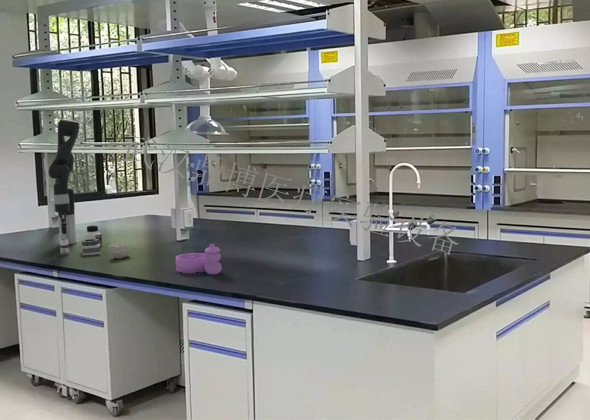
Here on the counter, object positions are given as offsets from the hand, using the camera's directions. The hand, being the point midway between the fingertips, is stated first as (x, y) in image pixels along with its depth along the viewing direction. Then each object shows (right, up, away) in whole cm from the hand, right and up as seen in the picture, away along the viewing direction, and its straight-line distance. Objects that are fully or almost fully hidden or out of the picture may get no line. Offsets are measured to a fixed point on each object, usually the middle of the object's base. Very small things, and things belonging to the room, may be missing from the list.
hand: (64, 232), depth 344 cm
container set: (+80, -16, -51) cm, 96 cm away
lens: (0, -12, +1) cm, 12 cm away
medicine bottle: (+8, -9, +24) cm, 27 cm away
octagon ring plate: (+13, -11, +2) cm, 18 cm away
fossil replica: (+34, -13, -13) cm, 38 cm away
